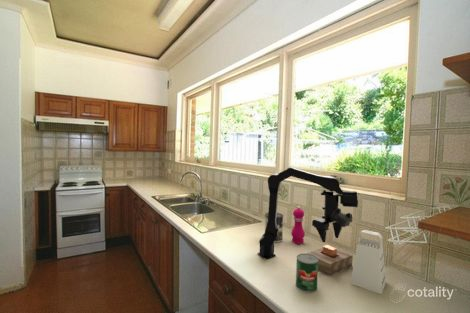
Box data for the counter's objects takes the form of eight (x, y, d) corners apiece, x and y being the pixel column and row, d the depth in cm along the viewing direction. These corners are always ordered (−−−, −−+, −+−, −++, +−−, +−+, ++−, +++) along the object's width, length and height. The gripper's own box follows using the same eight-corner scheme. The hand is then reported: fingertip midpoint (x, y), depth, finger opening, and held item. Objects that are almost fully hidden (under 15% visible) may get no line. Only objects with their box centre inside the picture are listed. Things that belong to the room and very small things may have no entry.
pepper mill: (305, 244, 132) (306, 208, 131) (291, 243, 133) (292, 207, 132) (304, 239, 139) (305, 205, 138) (291, 238, 140) (291, 204, 139)
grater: (357, 272, 103) (358, 226, 103) (386, 281, 97) (388, 232, 96) (350, 283, 95) (352, 232, 94) (381, 294, 89) (383, 239, 88)
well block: (329, 276, 100) (330, 264, 100) (306, 263, 110) (306, 253, 110) (352, 266, 109) (352, 255, 109) (328, 255, 119) (329, 245, 119)
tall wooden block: (332, 266, 107) (332, 250, 107) (322, 261, 111) (322, 246, 111) (336, 264, 108) (336, 248, 108) (326, 259, 113) (327, 244, 112)
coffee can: (281, 235, 144) (281, 212, 144) (284, 242, 134) (284, 217, 134) (263, 235, 145) (264, 211, 144) (265, 242, 134) (265, 217, 134)
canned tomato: (302, 294, 88) (303, 264, 87) (291, 282, 95) (292, 254, 95) (321, 290, 90) (322, 261, 90) (309, 279, 98) (310, 252, 97)
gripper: (334, 212, 97) (333, 251, 97) (360, 206, 107) (359, 241, 108) (311, 206, 106) (310, 241, 107) (338, 201, 116) (337, 234, 117)
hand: (330, 240), depth 109 cm, fingers open, 9 cm apart
